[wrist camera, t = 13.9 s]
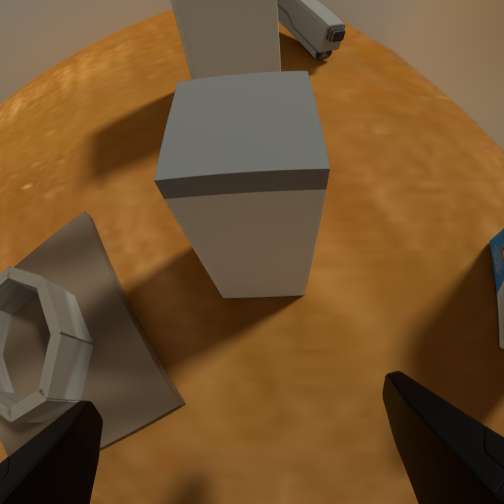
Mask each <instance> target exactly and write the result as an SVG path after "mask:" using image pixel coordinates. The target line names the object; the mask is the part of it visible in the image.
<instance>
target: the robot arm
mask: <svg viewBox="0 0 504 504" xmlns="http://www.w3.org/2000/svg"><path fill="white" fill-rule="evenodd" d="M383 401H384V404H385V408H386V411H387V415H388V419H389V422H390V426H391V430H392V434H393V437H394V441H395V443H396V446H397V449H398V451H399V454H400V456H401V459H402V461H403V464H404V466H405V469H406V471H407V474H408V477H409V479H410V482H411V485H412V487H413V490H414V493H415V495H416V498H417V501H418V503H419V504H504V437H503V436H501V435H499V434H498V433H496V432H494V431H493V430H491V429H489V428H488V427H486V426H485V427H484V425H483V424H481V423H480V422H478V421H477V420H475V419H473V418H472V417H470V416H469V415H467V414H466V413H464V412H462V411H461V410H459V409H458V408H456V407H455V406H453V405H452V404H450V403H448V402H447V401H445V400H444V399H442V398H441V397H439V396H438V395H436V394H435V393H433V392H431V391H430V390H428V389H427V388H425V387H424V386H422V385H421V384H419V383H418V382H416V381H415V380H413V379H411V378H410V377H408V376H407V375H405V374H404V373H402V372H401V371H395V372H392V373H388V374H387V375H386V376H385V382H384V388H383ZM102 428H103V419H102V417H101V415H100V413H99V412H98V410H97V409H96V407H95V405H94V404H93V403H92V402H91V401H85V400H81V401H79V402H77V403H76V404H75V405H73V406H72V407H71V408H70V409H68V410H67V411H66V412H65V413H63V414H62V415H61V416H60V417H58V418H57V419H56V420H54V421H53V422H52V423H51V424H49V425H48V426H47V427H46V428H44V429H43V430H42V431H41V432H39V433H38V434H37V435H35V436H34V437H33V438H32V439H30V440H29V441H28V442H27V443H25V444H24V445H23V446H21V447H20V448H19V449H18V450H16V451H15V452H14V453H13V454H11V455H10V456H9V457H7V458H6V459H5V460H4V461H2V462H1V463H0V504H90V499H91V494H92V489H93V484H94V479H95V475H96V470H97V465H98V459H99V452H100V443H101V436H102Z"/></svg>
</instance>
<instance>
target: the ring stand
mask: <svg viewBox="0 0 504 504" xmlns="http://www.w3.org/2000/svg"><path fill="white" fill-rule="evenodd" d="M81 400H85V401H91V402H92V403H93V404H94V405H95V407H96V409H97V410H98V412H99V413H100V415H101V417H102V419H103V428H102V436H101V443H100V450H102V449H104V448H106V447H108V446H110V445H112V444H114V443H116V442H118V441H120V440H122V439H124V438H126V437H127V436H129V435H131V434H133V433H135V432H137V431H139V430H141V429H143V428H144V427H146V426H148V425H150V424H152V423H154V422H155V421H157V420H159V419H161V418H163V417H164V416H166V415H168V414H170V413H171V412H173V411H175V410H177V409H178V408H180V407H182V406H183V405H185V404H186V403H185V402H184V400H183V399H182V397H181V396H180V394H179V392H178V391H177V389H176V387H175V386H174V384H173V382H172V381H171V379H170V377H169V376H168V374H167V372H166V371H165V369H164V367H163V365H162V364H161V362H160V360H159V358H158V357H157V355H156V353H155V351H154V350H153V348H152V346H151V344H150V342H149V340H148V338H147V337H146V335H145V333H144V331H143V329H142V327H141V325H140V323H139V321H138V319H137V317H136V316H135V314H134V312H133V310H132V308H131V305H130V303H129V301H128V299H127V297H126V295H125V293H124V291H123V289H122V287H121V285H120V283H119V280H118V278H117V276H116V274H115V272H114V269H113V267H112V265H111V263H110V260H109V258H108V256H107V253H106V251H105V249H104V246H103V244H102V241H101V239H100V237H99V234H98V232H97V229H96V227H95V224H94V221H93V219H92V218H91V216H90V215H89V214H88V213H87V212H86V211H84V212H83V213H81V214H80V215H79V216H77V217H76V218H75V219H73V220H72V221H71V222H69V223H68V224H67V225H65V226H64V227H63V228H61V229H60V230H59V231H58V232H56V233H55V234H54V235H52V236H51V237H50V238H49V239H47V240H46V241H45V242H44V243H42V244H41V245H40V246H39V247H38V248H36V249H35V250H34V251H33V252H31V253H30V254H29V255H28V256H27V257H26V258H24V259H23V260H22V261H21V262H20V263H19V264H17V265H16V266H15V267H11V266H10V267H8V268H7V269H6V270H5V271H4V272H2V273H1V274H0V438H1V441H2V443H3V445H4V448H5V450H6V453H7V455H8V457H9V456H10V455H11V454H13V453H14V452H15V451H16V450H18V449H19V448H20V447H21V446H23V445H24V444H25V443H27V442H28V441H29V440H30V439H32V438H33V437H34V436H35V435H37V434H38V433H39V432H41V431H42V430H43V429H44V428H46V427H47V426H48V425H49V424H51V423H52V422H53V421H54V420H56V419H57V418H58V417H60V416H61V415H62V414H63V413H65V412H66V411H67V410H68V409H70V408H71V407H72V406H73V405H75V404H76V403H77V402H79V401H81Z"/></svg>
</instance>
